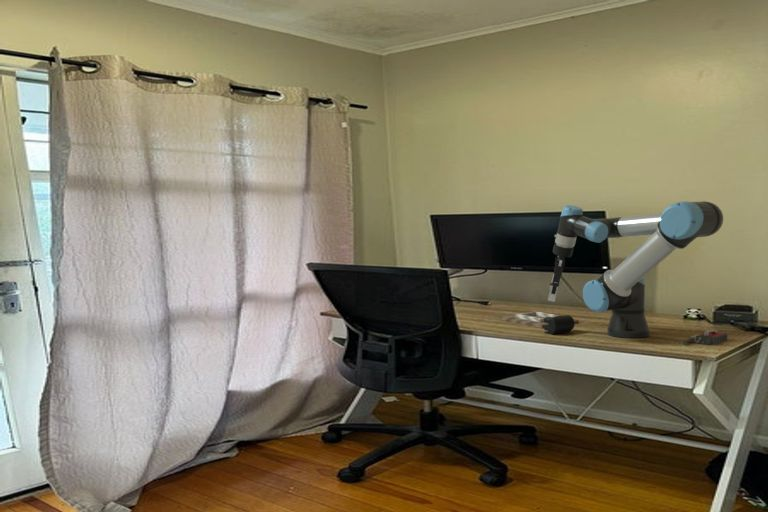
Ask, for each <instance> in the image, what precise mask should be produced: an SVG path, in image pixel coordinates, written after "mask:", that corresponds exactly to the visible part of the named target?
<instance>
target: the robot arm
mask: <svg viewBox="0 0 768 512" xmlns="http://www.w3.org/2000/svg"><path fill="white" fill-rule="evenodd" d="M583 212H584V210H583V209H582V208H581V207H579V206H577V205H569V204H567V205H564V206H563V207H562V211H561V214H560V217H559V222H558V228H557V231H556V234H554V238H555V239H554V244H553V248H552V253H553V254H554V255H555V259H554V267H553V270H554V271H553V274H552V278H551V282H550V284H549V285H550V286H549V294H548V296H547V301H549V302H554V303H555V302H556V298H557V294H558V289H559V287H560V280H561V277H562V274H563V271H564V268H565V265H566V258H571V257H572V256H573V252H574V247H575V245H576V243H577V242H576V241H577V237H578V236H579V237H582V238H584V239H585V240H588V241H590V242H594V243H599V244H600V243H602V242H603V241H605V240H606V239H614V238H615V239H617V238H619V239H620V238H625V237H638V236H649V237H647V239H646V240H645V241H644V242H643V243H642V244H640V245H639V246H638V247H637V248H635V250H634V251H633V252H632V253H631V254H629V255H628V256H627V257H626V258H625V259H624V260H623V261H622V262H620V264H618V265H617V266H616V267H615V268H614V269H608V270H605V272H603V274H601V275H600V276H599V277H598V278H597V279H591V280H589V281H587V282H586V283H585V284H584V286H583V288H582V299H583V302H584V303H585V306H586V307H587V308H588V309H589V310H591V311H593V312H597V313H604V312H608V311H611V315H610V319H609V323H608V326H607V327H606V333H607V335H608V336H610V337H616V338H624V339H630V338H631V339H637V338H638V339H640V338H647V337H649V336H650V334H651V329H650V326H649V325H648V321H647V319H646V315H645V314H646V313H645V309H646V307H645V301H646V300H645V288H646V285H645V278H644V277H645V276H647V275H648V274H649V273H650V272H651V271H652V270H654V268H656V267H657V266H658V265H659V264H661V262H663V261H665V259H666V258H667V257H669V255H671V254H672V253H673V252H675V250H677V249H679V250H683V249H685V248H686V247H687V246H688V245H690V244H691V243H692V242H694V241H695V240H696V239H697V238H703V237H709V236H713V235H714V234H715V233H717V232H718V231H720V229H721V228H722V226H723V224H724V214H723V212H722V210H721V208H720V207H719V206H718V205H717V204H716V203H713V202H710V201H705V200H704V201H702V200H701V201H679V202H675V203H672V204H670V205H668V206H667V207H665V209H664V210H663V211H662V212H655V213H649V214H648V213H647V214H639V215H628V216H620V217H619V216H618V217H611V218H609V217H608V218H589V217H587V216H585V215H584V214H583Z"/></svg>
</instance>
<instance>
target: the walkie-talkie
mask: <svg viewBox="0 0 768 512" xmlns="http://www.w3.org/2000/svg"><path fill="white" fill-rule="evenodd" d="M726 341H728V333H727V332H725V331H719V330H717V329H707V330H704V331H703V332H702V334H694V335H691V336H689V338H688V339H686V340H682V341H681V344H683V345H685V344H688V343H695V344H703V345H710V346H711V345H712V346H716V345H718V344H721V343H725V342H726Z"/></svg>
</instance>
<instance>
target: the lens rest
mask: <svg viewBox="0 0 768 512" xmlns="http://www.w3.org/2000/svg"><path fill="white" fill-rule="evenodd" d="M555 316H559V314H553V313H546V312H541V311H531V312H522V313H515V314H511V315H503V316H499V320H500V321H506V322H510V323H514V324H515V323H516V324H521V325H524V326H530V327H535V328H540V329H544V326H549V324H548V323H544V318H546V317H555ZM573 319H574V318H573ZM574 323H575V324H579V323H580V321H579V319H574Z"/></svg>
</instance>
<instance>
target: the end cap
mask: <svg viewBox="0 0 768 512" xmlns="http://www.w3.org/2000/svg"><path fill="white" fill-rule="evenodd" d="M558 315H559V314H558ZM544 323H548V324H549V326H544V328H543V330H544V334H546V335H557V334H565V333H570V332H571V331H572V330H573V329H574V328H575V324H576V323H574V318H573V317H572V315H570V314H567V315H559V316H555V317H546V318H544Z"/></svg>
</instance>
